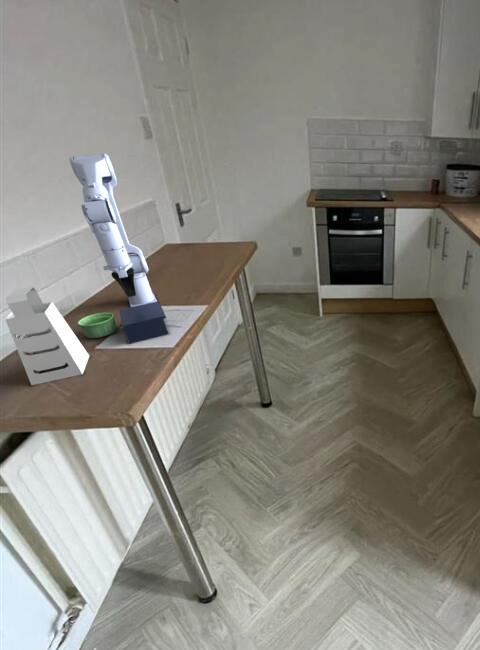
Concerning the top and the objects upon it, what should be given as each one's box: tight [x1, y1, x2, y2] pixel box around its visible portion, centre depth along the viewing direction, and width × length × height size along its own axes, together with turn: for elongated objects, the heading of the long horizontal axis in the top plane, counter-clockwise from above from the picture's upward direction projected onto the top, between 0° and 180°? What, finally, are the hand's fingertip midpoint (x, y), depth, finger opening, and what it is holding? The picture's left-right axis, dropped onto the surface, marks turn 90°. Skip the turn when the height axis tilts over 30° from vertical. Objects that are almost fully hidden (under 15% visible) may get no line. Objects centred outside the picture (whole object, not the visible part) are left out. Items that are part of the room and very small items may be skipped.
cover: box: [118, 300, 167, 329], centre depth 119 cm, size 11×14×1 cm
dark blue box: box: [122, 319, 169, 344], centre depth 120 cm, size 10×14×5 cm
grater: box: [4, 286, 90, 386], centre depth 98 cm, size 10×10×20 cm
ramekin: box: [77, 312, 118, 339], centre depth 120 cm, size 9×9×4 cm
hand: (131, 295), depth 122 cm, fingers closed
